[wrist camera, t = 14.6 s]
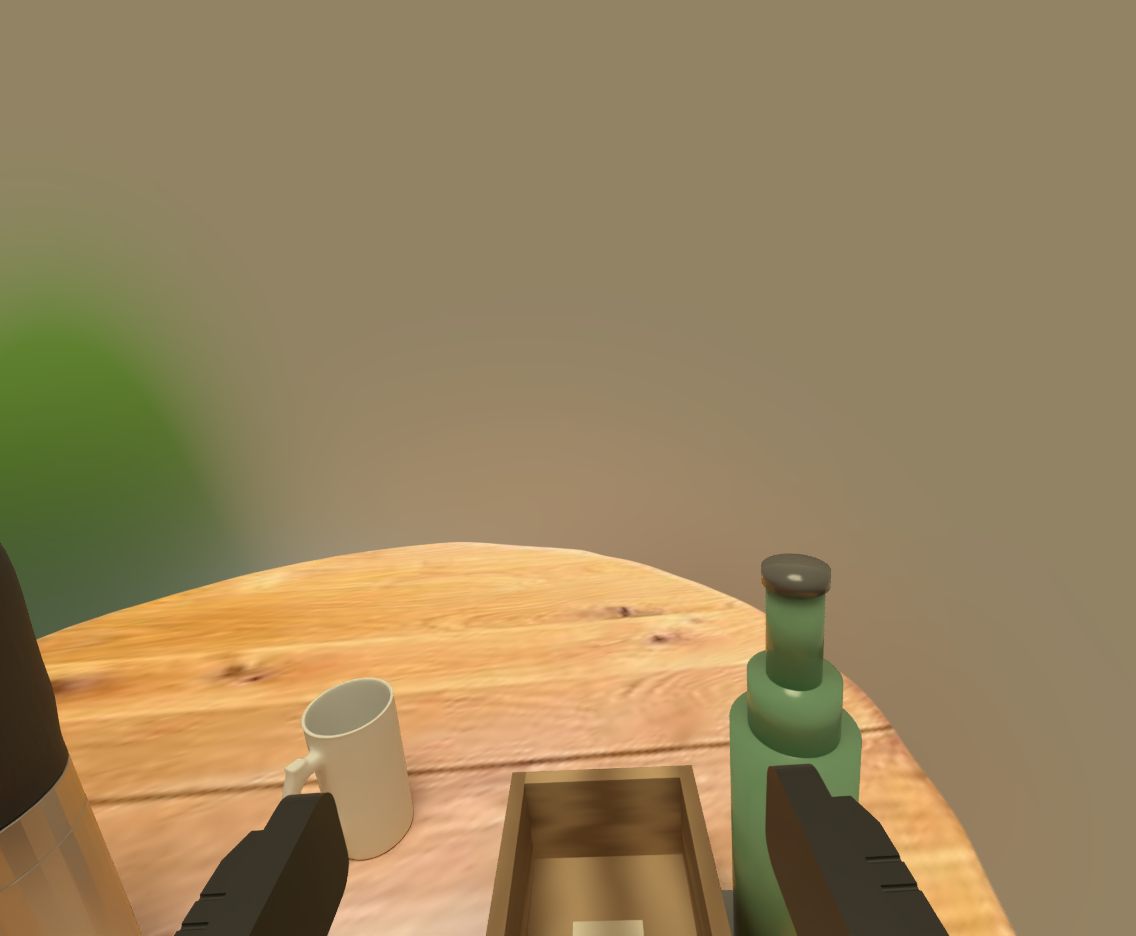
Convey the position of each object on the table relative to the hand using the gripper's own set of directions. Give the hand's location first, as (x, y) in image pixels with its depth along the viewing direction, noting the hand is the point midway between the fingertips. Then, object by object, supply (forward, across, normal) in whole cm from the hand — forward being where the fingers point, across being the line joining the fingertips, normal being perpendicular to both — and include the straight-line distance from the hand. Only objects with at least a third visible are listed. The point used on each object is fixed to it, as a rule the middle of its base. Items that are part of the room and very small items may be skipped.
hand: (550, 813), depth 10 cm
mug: (+26, +19, +31) cm, 45 cm away
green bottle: (+14, -11, +30) cm, 35 cm away
